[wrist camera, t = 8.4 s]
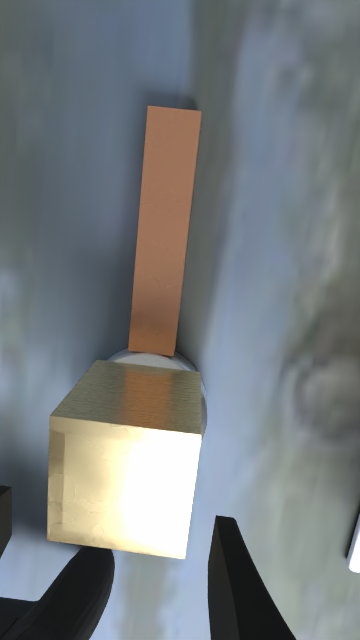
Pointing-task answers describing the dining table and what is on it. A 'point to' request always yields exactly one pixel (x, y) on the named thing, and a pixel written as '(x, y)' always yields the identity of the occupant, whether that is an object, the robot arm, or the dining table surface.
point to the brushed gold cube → (125, 459)
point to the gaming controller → (64, 601)
